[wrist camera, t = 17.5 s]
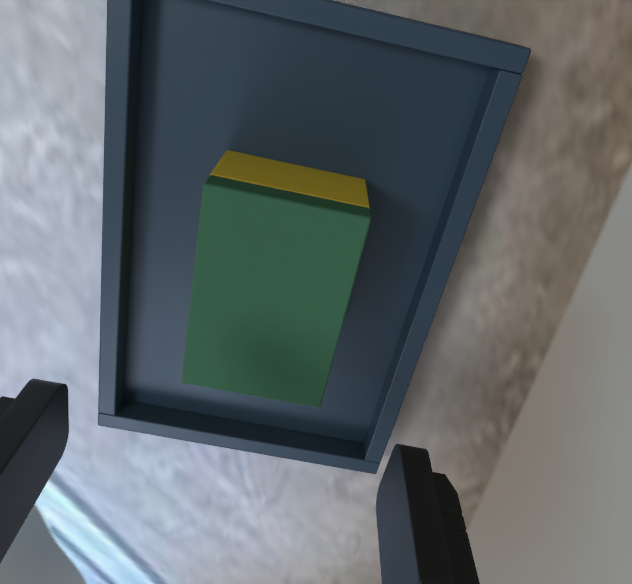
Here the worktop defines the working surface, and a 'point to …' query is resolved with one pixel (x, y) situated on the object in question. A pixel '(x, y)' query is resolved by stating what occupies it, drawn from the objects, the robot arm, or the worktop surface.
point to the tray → (301, 149)
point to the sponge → (272, 277)
